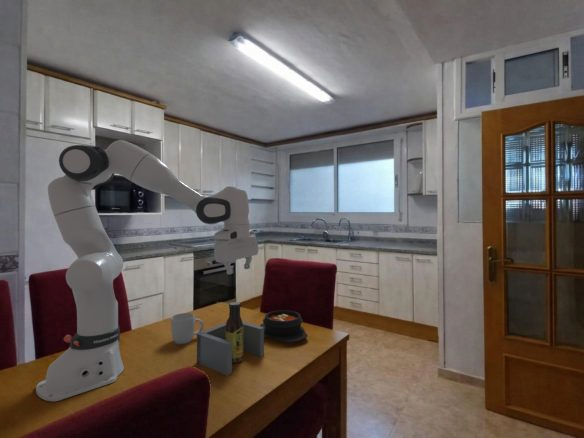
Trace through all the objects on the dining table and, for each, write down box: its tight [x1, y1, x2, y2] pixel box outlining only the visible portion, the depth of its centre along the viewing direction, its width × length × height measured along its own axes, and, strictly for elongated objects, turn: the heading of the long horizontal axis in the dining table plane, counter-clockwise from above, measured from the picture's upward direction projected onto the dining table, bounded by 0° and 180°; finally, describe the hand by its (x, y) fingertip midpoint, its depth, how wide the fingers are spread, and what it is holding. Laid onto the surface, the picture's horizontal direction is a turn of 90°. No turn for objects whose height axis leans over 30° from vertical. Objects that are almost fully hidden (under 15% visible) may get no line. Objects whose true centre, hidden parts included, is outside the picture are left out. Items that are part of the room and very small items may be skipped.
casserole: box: [259, 309, 308, 343], centre depth 131 cm, size 25×19×8 cm
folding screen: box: [196, 320, 265, 376], centre depth 110 cm, size 18×15×10 cm
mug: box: [170, 312, 205, 345], centre depth 125 cm, size 13×9×10 cm
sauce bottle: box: [225, 301, 244, 364], centre depth 109 cm, size 7×6×20 cm
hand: (238, 271), depth 110 cm, fingers open, 8 cm apart
